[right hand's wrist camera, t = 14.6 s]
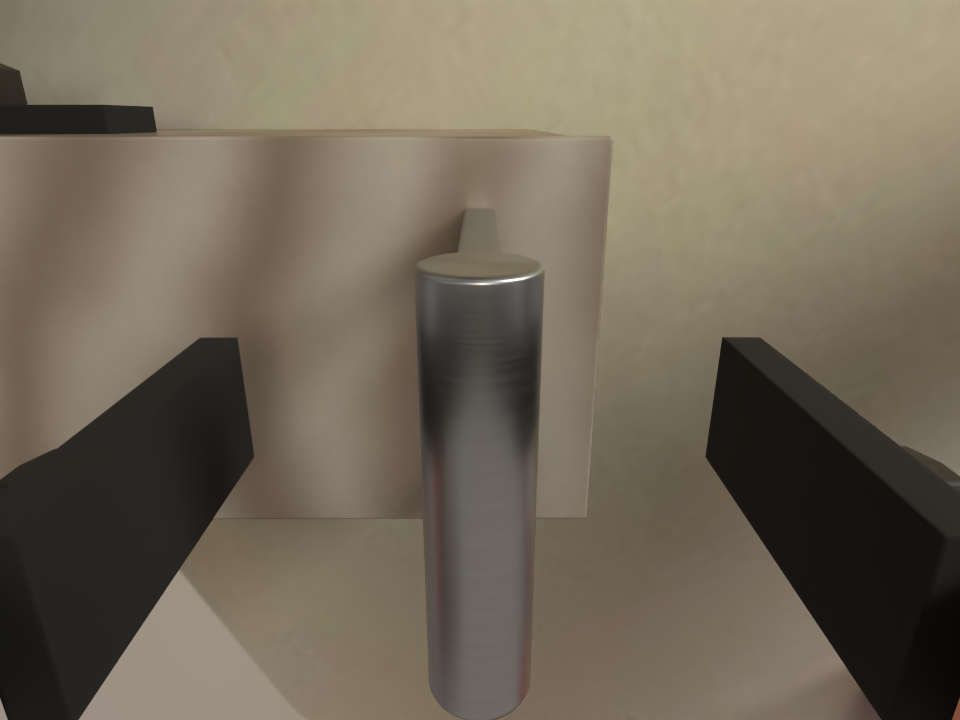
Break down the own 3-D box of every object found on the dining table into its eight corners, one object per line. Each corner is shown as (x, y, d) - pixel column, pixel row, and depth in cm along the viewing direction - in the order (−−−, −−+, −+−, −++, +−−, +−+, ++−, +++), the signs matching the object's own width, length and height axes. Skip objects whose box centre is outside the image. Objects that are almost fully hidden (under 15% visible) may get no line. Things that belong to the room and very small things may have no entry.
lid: (606, 136, 15) (748, 153, 7) (582, 501, 19) (659, 786, 11) (-100, 135, 15) (-748, 153, 7) (11, 502, 19) (-338, 788, 11)
